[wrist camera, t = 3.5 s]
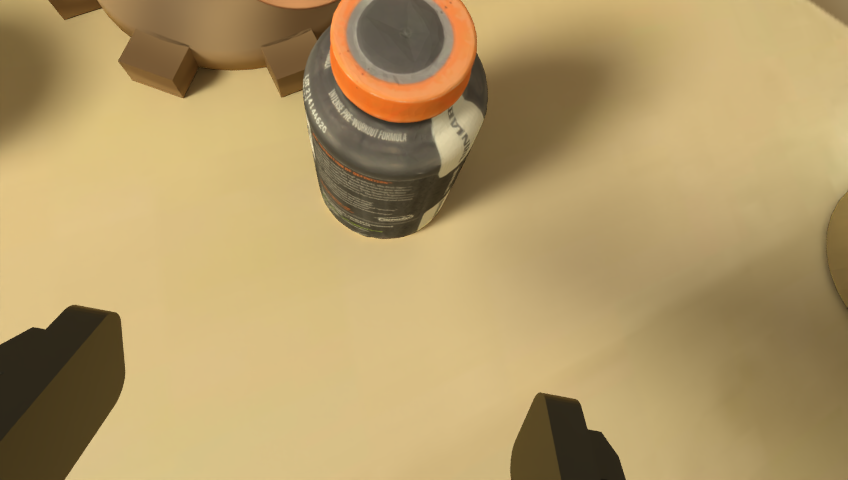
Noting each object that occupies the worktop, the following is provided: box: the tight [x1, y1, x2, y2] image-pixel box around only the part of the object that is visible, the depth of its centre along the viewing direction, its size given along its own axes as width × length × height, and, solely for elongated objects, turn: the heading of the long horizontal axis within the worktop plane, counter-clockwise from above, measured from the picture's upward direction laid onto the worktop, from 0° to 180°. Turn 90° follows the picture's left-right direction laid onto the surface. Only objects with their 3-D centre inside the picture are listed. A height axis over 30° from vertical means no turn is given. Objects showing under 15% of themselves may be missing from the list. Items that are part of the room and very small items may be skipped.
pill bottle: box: [303, 0, 488, 239], centre depth 20 cm, size 6×6×11 cm
